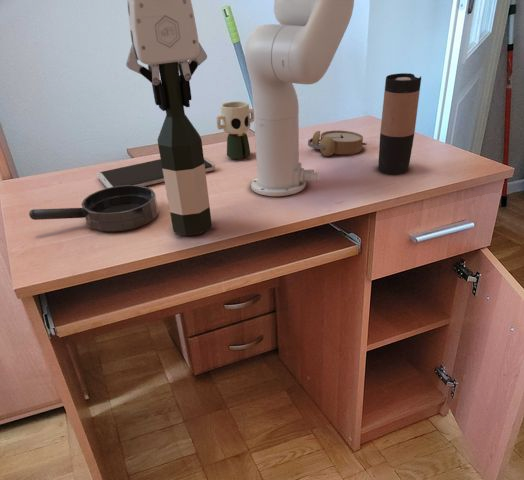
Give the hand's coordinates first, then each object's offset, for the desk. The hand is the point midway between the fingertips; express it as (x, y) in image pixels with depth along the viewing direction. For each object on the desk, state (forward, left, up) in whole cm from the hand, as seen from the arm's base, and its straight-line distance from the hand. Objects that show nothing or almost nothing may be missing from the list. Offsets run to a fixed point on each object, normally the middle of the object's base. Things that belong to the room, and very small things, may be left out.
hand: (174, 106), depth 86 cm
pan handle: (+27, +3, -21) cm, 34 cm away
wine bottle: (0, 0, -22) cm, 22 cm away
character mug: (0, -43, -23) cm, 49 cm away
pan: (+17, -4, -23) cm, 29 cm away
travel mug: (-40, -35, -23) cm, 58 cm away
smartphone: (+18, -29, -23) cm, 41 cm away
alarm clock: (-25, -49, -23) cm, 60 cm away
